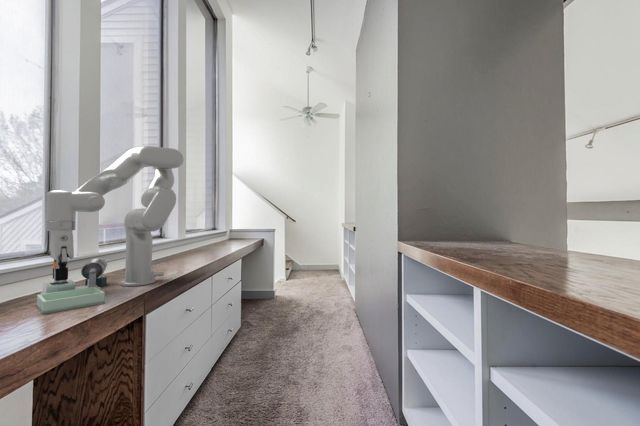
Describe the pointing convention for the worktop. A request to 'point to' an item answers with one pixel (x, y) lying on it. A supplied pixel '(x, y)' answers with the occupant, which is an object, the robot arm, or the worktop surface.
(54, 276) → the lock pin
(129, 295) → the worktop surface
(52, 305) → the tray
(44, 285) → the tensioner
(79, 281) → the worktop surface
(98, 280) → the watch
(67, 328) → the worktop surface
